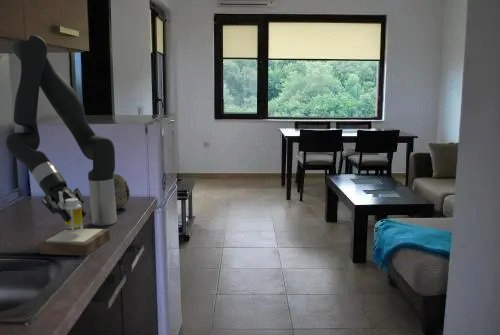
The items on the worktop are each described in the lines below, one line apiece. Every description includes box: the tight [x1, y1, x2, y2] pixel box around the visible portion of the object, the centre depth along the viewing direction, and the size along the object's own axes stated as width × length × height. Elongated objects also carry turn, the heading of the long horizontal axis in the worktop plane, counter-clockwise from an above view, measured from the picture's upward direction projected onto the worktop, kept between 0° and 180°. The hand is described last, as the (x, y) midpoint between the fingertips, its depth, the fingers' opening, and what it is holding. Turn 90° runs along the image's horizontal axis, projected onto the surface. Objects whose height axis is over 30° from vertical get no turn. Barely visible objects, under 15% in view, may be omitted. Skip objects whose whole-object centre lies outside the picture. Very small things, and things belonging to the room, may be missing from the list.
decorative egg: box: [113, 173, 131, 210], centre depth 206 cm, size 12×12×15 cm
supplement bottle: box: [63, 198, 84, 232], centre depth 159 cm, size 6×6×10 cm
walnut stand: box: [38, 228, 111, 256], centre depth 161 cm, size 16×16×4 cm
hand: (77, 217), depth 158 cm, fingers closed on supplement bottle, 5 cm apart
